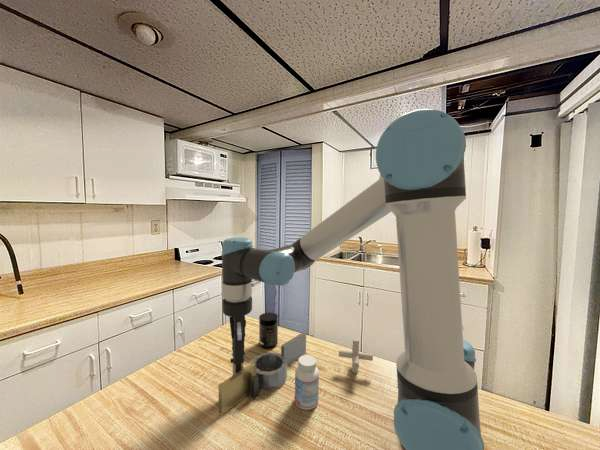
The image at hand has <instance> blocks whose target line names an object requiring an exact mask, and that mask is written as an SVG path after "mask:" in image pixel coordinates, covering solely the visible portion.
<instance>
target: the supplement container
mask: <svg viewBox="0 0 600 450" xmlns="http://www.w3.org/2000/svg"><path fill="white" fill-rule="evenodd" d="M258 322H259V323H258V326H259V327H258V331H259V333H258V341H259V342H258V344H259V346H260V348H262V349H266V350H267V349H268V350H270V349H274V348H275V347H276V346H277V345H278V342H279V341H278V340H279V339H278V338H279V336H278V332H279V326H278V325H279V324H278V323H279V315H278V314H277V313H274V312H263V313H262V314H260V315H259V317H258Z"/></svg>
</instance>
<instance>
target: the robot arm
mask: <svg viewBox="0 0 600 450" xmlns="http://www.w3.org/2000/svg"><path fill="white" fill-rule="evenodd" d="M466 141H467V139H466V135H465V132H464V130H463V129H462V128H461V126H460V124H459V122H458V121H457V120H456V119H455V118H454V117H453V116H451V115H450V114H448V113H446V112H444V111H442V110H439V109H435V108H433V109H432V108H421V109H420V108H419V109H415V110H412V111H409V112H407V113H403V114H402V115H401V116H398V117H397V118H396V119H394V120H393V121H392V122H390V124H389V125H388V126H387V127H386V129H385V130H384V131H383V132H382V134H381V135H380V137H379V139H378V141H377V145H376V148H375V162H376V163H375V164H376V166H377V170H378V172H379V179H378V180H376V181H375V182H374V183H373V184H371V185H370V186H368V187H367V188H366V189H364V190H363V191H362V192H360V193H359V194H357V195H356V196H355V197H353V198H352V199H351V200H349V201H348V202H346V203H345V204H344V205H343V206H341V207H340V208H339V209H337V210H336V211H334V212H333V213H332V214H330V215H329V216H328V217H326V218H325V219H324V220H322V221H320V222H319V223H318V224H317V225H316V226H314V227H313V228H312V229H310V230H308V231H307V232H306V233H305V234H304V235H302V236H301V237H300V238H299V239H297V240H296V241H294V242H293V243H291V244H288V245H285V246H281V247H276V248H272V249H261V248H260V249H259V248H254V246H253V241H252V239H251V238H248V237H230V238H225V239H224V240H223V242H222V248H221V265H222V266H221V267H222V268H221V269H222V271H221V272H222V276H221V277H222V279H221V280H222V281H221V282H222V283H221V285H222V286H221V295H222V313H223V314H224V315H225V316H226V317H229V328H230V335H231V341H232V342H231V350H232V358H230V360H229V361H230V363H231V364H232V376H233V375H235V374H236V373H238V372H239V371H241V370H242V369H244V362H245V355H246V352H245V339H246V338H245V337H246V326H247V320H246V315H249V314H250V313H251V312H252V310H253V297H252V295H253V288H254V287H255V283H254V282H253V280H254V281H257V282H260V283H265V284H267V285H271V286H279V287H280V286H281V287H282V286H283V287H284V286H285V285H288V284H289V283H290V281H291V280H292V279H293V277H294V274H295V273H297V272H300V271H303V270H306V269H308V268H310V267H311V266H313V264H314V263H315V262H316V261H317V260H319V259H321V258H323V257H324V256H325V255H327V254H329V253H330V252H331V251H333V250H335V249H336V248H338V247H340V246H341V245H342V244H345V242H347V241H349V240H350V239H352V238H353V237H355V236H357V235H358V234H359V233H361V232H362V231H365V229H367V228H368V227H370V226H372V225H373V224H375V223H376V222H378V221H379V220H381V219H383V218H384V217H386V216H387V215H389V214H390V213H392V212H393V214H394V215H395V221H396V222H395V223H396V236H397V249H398V250H397V254H398V267H399V281H400V283H399V284H400V297H401V299H400V300H401V311H402V312H401V313H402V314H401V315H402V326H403V327H402V328H403V342H404V351H402V353H400V354H399V355H398V356H397V358H396V378H397V379H396V381H397V403H396V405H395V406H394V408H393V426H394V427H393V428H394V431H395V433H396V434H395V435H396V436H397V438H398V440H399V442H400V444H401V445H402V446H403V448H404V449H405V450H485V442H484V439H483V437H482V433H481V432H482V429H481V420H480V419H481V418H480V407H479V406H480V405H479V403H480V402H479V391H478V390H479V388H478V375H477V373H476V370H475V366H476V365H475V362H477V358H476V350H475V348H474V347H473V345H472V344H471V343H469V342H468V341H467V340H466V339H464V336H463V334H464V333H463V317H462V303H461V287H460V286H461V285H460V273H459V272H460V271H459V268H460V267H459V255H458V254H459V251H458V237H457V221H456V210H457V208H458V207H459V206H460V205H461V204H462V203H463V202H464V201H465V200H466V199H467V192H466V187H467V186H466V174H465V159H464V157H465V152H466V147H467V142H466Z"/></svg>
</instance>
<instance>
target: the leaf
mask: <svg viewBox="0 0 600 450" xmlns="http://www.w3.org/2000/svg"><path fill="white" fill-rule="evenodd" d="M254 375H255V376H256V364H255V363H250V364H248V365H247V366H245V367H243V369H242V370H241V371H239V372H238V373H236V374H235V375H233V374H232V375H231V376H230V377H229V378H227V379H226V380H224V381H222V382H221V383H219V384H218V413H219V414H220V415H221V416H223V415H224V414H225V413H227V412H228V411H230V410H231V409H232V408H233V407H235V405H238V403H240V402H241V401H242V400H244V398H246V397H247V396H248V395H249V396H250V378H251V377H253V376H254Z"/></svg>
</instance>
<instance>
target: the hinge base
mask: <svg viewBox="0 0 600 450" xmlns="http://www.w3.org/2000/svg"><path fill="white" fill-rule="evenodd" d="M280 347H281V348H280V351H281V352H280V353H278V352H271V351H269V352H263V353H260V354H258V355H256V356H255V357H254V358H253V360H252V361H251V363H255V364H256V376H255V375H254V376H253V377H251V378H250V394H249V396H250V398H251V399H252V400H256V398H258V397H259V396H260V395H259V394H260V393H259V392H260V391H259V390H261V391H272V390H276V389H279V388H280V387H282V386H283V385H284V384H285V383H286V381H287V378H288V367H289V366H290V365H291V364H292V363H294V362H295V361H297V360H299V358H300V357H301V356H303V355H306V353H307V333H306V332H305V331H303V332H301V333H299V334H298V335H296V336H294V337H293V338H291V339H290V340H288V341H286V342H284V343H283V344H282V345H280ZM251 363H250V364H251ZM268 369H270V370H272V371H265V370H268Z"/></svg>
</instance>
